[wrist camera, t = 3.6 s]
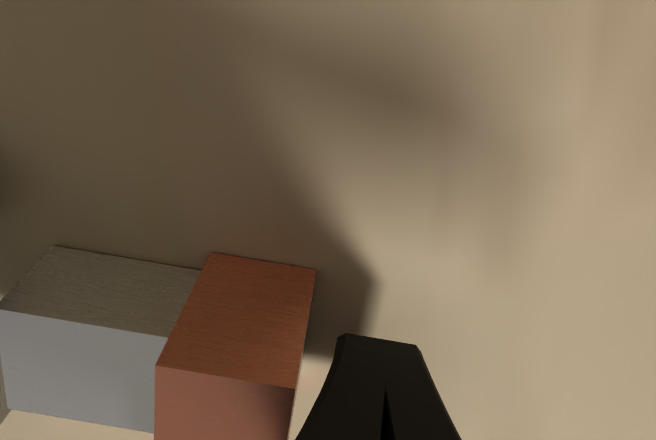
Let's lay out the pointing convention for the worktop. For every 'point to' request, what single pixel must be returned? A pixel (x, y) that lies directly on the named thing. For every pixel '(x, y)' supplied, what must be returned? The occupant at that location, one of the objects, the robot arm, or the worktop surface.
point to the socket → (3, 398)
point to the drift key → (158, 344)
